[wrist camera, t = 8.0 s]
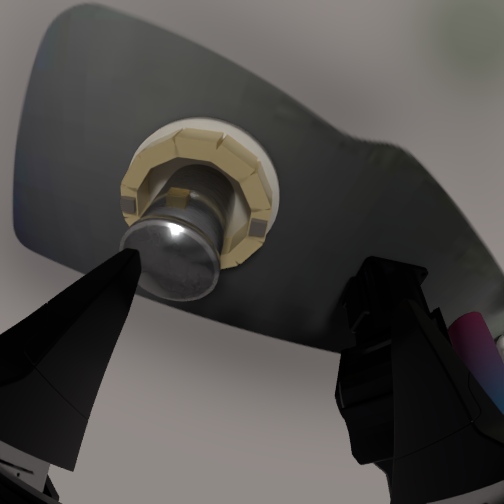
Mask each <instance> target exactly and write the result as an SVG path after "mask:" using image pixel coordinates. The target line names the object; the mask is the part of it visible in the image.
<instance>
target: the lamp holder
mask: <svg viewBox="0 0 504 504" xmlns="http://www.w3.org/2000/svg"><path fill="white" fill-rule="evenodd" d="M192 164H202V165H207V166H210V167H212V168H215V169H217V170H218V171H220V172H221V173H222V174H223V175H225V176H226V177H227V179H228V180H229V181H230V183H231V184H232V186H233V189H234V192H235V198H236V201H235V207H234V211H233V214H232V217H231V221H230V224H229V228H228V231H227V235H226V238H225V242H224V245H223V249H222V252H221V256H220V260H221V269H224V268H229V267H234V266H238V263H239V264H241V263H242V262H244V261H245V260H246V259H247V258H248V257H249V256H250V255H252V254H253V253H254V252H255V251H256V250H257V249H258V248H260V247H261V246H262V245H263V242H264V241H265V237H266V234H267V233H268V231H269V230H270V229H271V227H272V225H273V223H274V221H275V218H276V215H277V212H278V206H279V179H278V174H277V171H276V168H275V165H274V163H273V161H272V159H271V157H270V155H269V154H268V152H267V151H266V149H265V148H264V147H263V146H262V144H261V143H260V142H259V141H258V140H257V139H256V138H255V137H253V136H252V135H251V134H250V133H248V132H247V131H246V130H244V129H243V128H241V127H239V126H237V125H235V124H233V123H231V122H228V121H225V120H222V119H218V118H213V117H202V116H198V117H187V118H183V119H179V120H176V121H173V122H171V123H168V124H167V125H165V126H163V127H161V128H160V129H159V130H157V131H156V132H155V133H153V134H152V135H151V136H150V137H148V138H147V139H146V140H145V141H144V142H143V143H142V144H141V145H140V147H139V148H138V150H137V151H136V153H135V155H134V157H133V159H132V161H131V164H130V167H129V170H128V171H127V173H126V175H125V177H124V179H123V181H122V185H121V196H122V197H121V198H120V203H121V211H123V216H125V217H126V218H125V220H126V222H127V223H128V225H129V227H130V226H131V225H132V224H133V223H134V222H135V221H137V220H138V219H140V218H141V216H142V215H143V213H144V212H145V211H146V209H147V208H148V206H149V205H150V204H151V202H152V201H153V199H154V198H155V197H156V195H157V194H158V193H159V191H160V190H161V189H162V187H163V186H164V185H165V183H166V182H167V181H168V179H169V178H170V177H171V175H172V174H173V173H174V172H175V171H177V170H178V169H180V168H182V167H184V166H187V165H192Z"/></svg>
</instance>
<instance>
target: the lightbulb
mask: <svg viewBox="0 0 504 504" xmlns="http://www.w3.org/2000/svg"><path fill="white" fill-rule="evenodd" d="M496 347H497V349H498V351H499V353H500V356H501V358H502V361H503V363H504V335H502V336H500V337H499V339H498V341H497V342H496Z"/></svg>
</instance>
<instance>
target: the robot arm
mask: <svg viewBox="0 0 504 504" xmlns="http://www.w3.org/2000/svg"><path fill="white" fill-rule="evenodd" d="M370 262H373V263H370ZM141 270H142V267H141V259H140V252H139V250H138V249H134V248H129V247H127V248H125V249H123V250H122V251H120V252H119V253H117V254H116V255H114V256H113V257H111V258H110V259H108V260H107V261H105V262H104V263H102V264H101V265H99V266H98V267H96V268H95V269H93V270H92V271H90V272H89V273H87V274H86V275H84V276H83V277H82V278H80V279H79V280H77V281H76V282H74V283H73V284H72V285H70V286H69V287H67V288H66V289H65V290H63V291H62V292H60V293H59V294H58V295H56V296H55V297H54V298H52V299H51V300H50V301H48V304H47V303H45V304H44V305H43V306H41V307H40V308H39V309H37V310H36V311H35V312H33V313H32V314H30V315H29V316H28V317H26V318H25V319H23V320H22V321H20V322H19V323H17V324H16V325H14V326H13V327H11V328H10V329H8V330H7V331H5V332H3V333H2V334H0V504H62V503H60V502H58V501H59V495H58V494H57V492H56V490H55V488H54V486H53V484H52V482H51V480H50V478H49V476H48V470H49V466H50V464H53V465H56V466H58V467H61V468H64V469H66V470H69V471H72V472H73V471H74V468H75V464H76V460H77V457H78V453H79V450H80V446H81V443H82V440H83V436H84V433H85V429H86V426H87V423H88V419H89V417H90V413H91V410H92V407H93V404H94V401H95V398H96V396H97V392H98V390H99V387H100V384H101V381H102V379H103V376H104V373H105V371H106V368H107V365H108V363H109V360H110V358H111V355H112V352H113V350H114V347H115V345H116V342H117V340H118V337H119V335H120V333H121V330H122V328H123V325H124V323H125V321H126V318H127V316H128V313H129V310H130V307H131V304H132V300H133V297H134V294H135V291H136V288H137V285H138V281H139V278H140V275H141ZM427 275H428V271H427V269H426V268H424V267H420V266H416V265H411V264H407V263H402V262H397V261H393V260H388V259H384V258H379V257H374V256H370V257H368V258H367V259H366V261H365V263H364V264H363V266H362V268H361V270H360V272H359V274H358V276H356V277H355V278H354V280H353V282H352V284H351V286H350V287H349V289H348V291H347V293H346V295H345V299H344V301H343V303H342V306H343V309H345V310H347V313H348V321H349V328H350V331H351V332H352V333H355V337H356V345H357V346H355V347H352V348H350V349H348V348H347V349H344V350H342V351H341V358H340V364H339V371H338V378H337V384H336V390H335V399H336V403H337V406H338V409H339V411H340V413H341V415H342V417H343V418H344V420H345V422H346V425H347V429H348V432H349V437H350V443H351V451H352V455H353V456H354V458H355V459H356V460H357V462H358V463H359V464H360V465H364V464H369V463H374V464H375V465H376V466H377V467H378V468H379V469H381V470H382V471H383V472H384V473H385V474H386V477H387V481H388V487H389V492H390V498H391V501H390V504H504V415H503V413H502V412H501V411H500V410H499V408H498V407H497V406H496V404H495V403H494V402H493V401H492V399H491V398H490V397H489V395H488V394H487V393H486V392H485V390H484V389H483V388H482V386H481V385H480V384H479V382H478V381H477V380H476V378H475V377H474V375H473V374H472V373H471V371H470V370H469V369H468V367H467V366H466V364H465V363H464V362H463V360H462V359H461V358H460V356H459V355H458V354H457V352H456V351H455V350H454V348H453V345H452V341H451V338H450V335H449V332H448V330H447V327H446V324H445V321H444V319H443V316H442V313H441V311H440V308H439V307H438V308H436V309H434V310H433V312H431V313H430V311H429V308H428V305H427V303H426V300H425V297H424V294H423V292H422V289H421V286H420V285H421V284H422V282H423V281H424V279H425V278H426V276H427Z"/></svg>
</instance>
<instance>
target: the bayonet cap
mask: <svg viewBox="0 0 504 504" xmlns="http://www.w3.org/2000/svg"><path fill="white" fill-rule="evenodd" d="M235 201H236V198H235V192H234V189H233V186H232V184H231V183H230V181H229V180H228V179H227V177H226V176H225V175H223V174H222V173H221V172H220V171H218V170H217V169H215V168H212V167H210V166H207V165H202V164H192V165H187V166H184V167H182V168H180V169H178V170H177V171H175V172H174V173H173V174H172V175H171V177H170V178H169V179H168V181H167V182H166V183H165V185H164V186H163V187H162V189H161V190H160V191H159V193H158V194H157V195H156V197H155V198H154V199H153V201H152V202H151V204H150V205H149V206H148V208H147V209H146V211H145V212H144V213H143V215H142V216H141V218H140V219H138V220H137V221H135V222H134V223H133V224H132V225H131V226H130V227H129V229H128V230H127V231H126V233H125V234H124V236H123V237H122V240H121V243H120V250H119V251H122V250H123V249H125V248H127V247H129V248H134V249H138V250H139V252H140V259H141V267H142V270H141V275H140V278H139V281H138V285H140V286H141V287H142V288H144V289H145V290H147V291H148V292H150V293H152V294H154V295H156V296H159V297H161V298H165V299H168V300H173V301H192V300H197V299H200V298H202V297H204V296H206V295H207V294H209V293H210V292H211V291H212V290H213V289H214V287H215V286H216V284H217V281H218V278H219V274H220V269H221V260H220V256H221V252H222V249H223V245H224V242H225V238H226V235H227V231H228V228H229V224H230V221H231V217H232V214H233V211H234V207H235Z"/></svg>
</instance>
